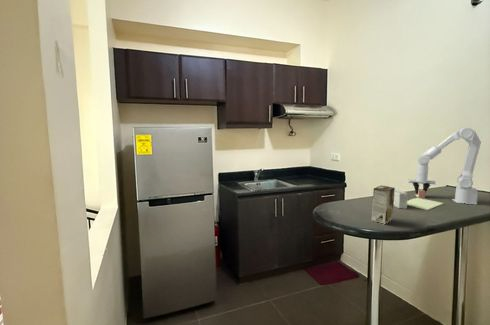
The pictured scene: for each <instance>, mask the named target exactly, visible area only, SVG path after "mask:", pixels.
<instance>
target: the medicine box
mask: <svg viewBox="0 0 490 325" xmlns="http://www.w3.org/2000/svg"><path fill="white" fill-rule="evenodd" d="M408 199H409V198H408V193H407V192H406V191H402V190H400V189H395V190H394V205H393V207H396V208H398V209H399V208H402V210H403V209H405V210H406V209H407V208H408V205H407V201H408Z"/></svg>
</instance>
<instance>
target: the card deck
mask: <svg viewBox="0 0 490 325" xmlns="http://www.w3.org/2000/svg"><path fill="white" fill-rule="evenodd" d="M415 196H416V198H421V199H426V193H425V191H424V190H423V188H419V189H418V195H416V194H415Z"/></svg>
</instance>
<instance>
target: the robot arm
mask: <svg viewBox="0 0 490 325" xmlns="http://www.w3.org/2000/svg"><path fill="white" fill-rule="evenodd" d="M461 139H463V140H465V141H466V142H467V143H468V148H467V152H466V154H465V160H464V162H463V165H462V166H463V167H462V170H461V172H460V175H459V176H458V177H457V178H456V180H457V181H456V182H457V185H456V186H455V187H456V188H455V194H454V198H451V200H452V201H453V202H455V203H457V204H464V203H465V204H466V205H467V204H469V205H478V194H479V193H478V189H477V188H474V187H473V186H474V182H473V177H474V176H473V172H474V169H475V166H476V161H477V158H478V154H479V151H480V148H481V143H482V141H481V140H480V138H479V136H478V134H477V132H476V131H475V130H474V129H472V128H471V127H469V126H468V127H462V128H459V129H458V130H456V131H455V132H453V133H452V134H450V135H449V136H447V137H446V138H445V139H443V141H441V142H440V143H439V144H438V145H432V146H430V147H428V148H429V149H428V150H426V151H424V152H422V154H421V155H419V156H418V157H417V161H418V162H417V167H416V168H417V169H416V179H408V180H407V183H408V184H412V186H413V188H414V191H415V196H416V195H418V189H420V184H421V185H422V187H423V188H422V189H423V190H424V191H425V194H427V191H428V190H429V188H430V187H431V185H436V181H435V180H428V175H429V173H428V172H429V163H430V160H433V159H435V158H436V157H437V156H439V154H441V153H442V150H443V149H444V148H446V147H447V146H449V145H450V144H451V143H453V142H454V141H458V140H461Z"/></svg>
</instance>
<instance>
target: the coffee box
mask: <svg viewBox="0 0 490 325" xmlns="http://www.w3.org/2000/svg"><path fill="white" fill-rule="evenodd" d="M394 190H396V189H395V187H393V186H388V185H379V186H376V187H375V188H374V187H373V192H372V193H373V194H372V195H373V196H372V206H371V207H372V209H371V221H372V220H374V221H377V222H380V223H384V224H386V223H387V224H389V223H390V222H391V220H392V221H393V217H394ZM389 221H390V222H389ZM388 222H389V223H388ZM380 223H379V224H380ZM384 224H383V225H384ZM387 224H386V225H387Z"/></svg>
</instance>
